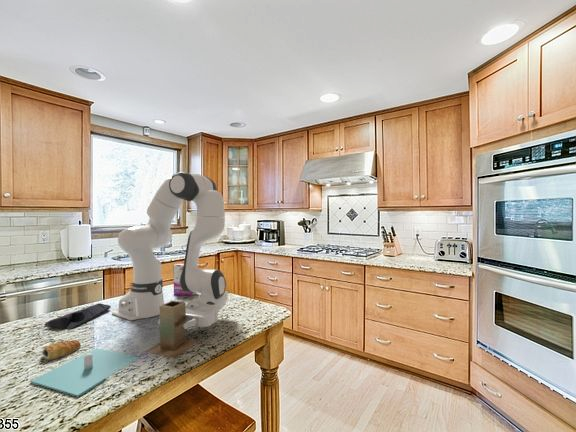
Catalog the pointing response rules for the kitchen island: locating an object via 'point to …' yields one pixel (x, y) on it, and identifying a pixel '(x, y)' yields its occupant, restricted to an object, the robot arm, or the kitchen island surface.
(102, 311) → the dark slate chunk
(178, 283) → the candy bar box
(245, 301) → the kitchen island surface
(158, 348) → the walnut stand
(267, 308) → the kitchen island surface
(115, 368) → the teal hub plate
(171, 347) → the bronze sleeve
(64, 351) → the pastry
